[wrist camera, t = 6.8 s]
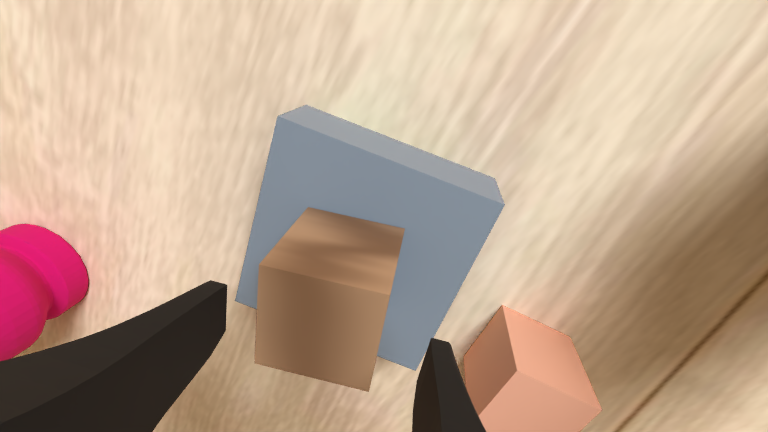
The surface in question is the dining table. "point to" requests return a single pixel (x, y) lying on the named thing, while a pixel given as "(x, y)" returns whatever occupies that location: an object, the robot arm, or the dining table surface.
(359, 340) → the walnut block
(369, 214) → the base block
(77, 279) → the pepper mill
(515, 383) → the terracotta block
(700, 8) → the dining table surface
